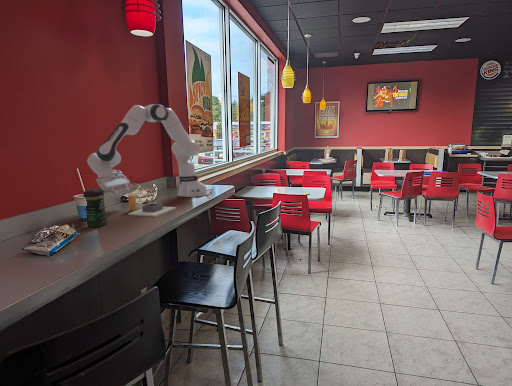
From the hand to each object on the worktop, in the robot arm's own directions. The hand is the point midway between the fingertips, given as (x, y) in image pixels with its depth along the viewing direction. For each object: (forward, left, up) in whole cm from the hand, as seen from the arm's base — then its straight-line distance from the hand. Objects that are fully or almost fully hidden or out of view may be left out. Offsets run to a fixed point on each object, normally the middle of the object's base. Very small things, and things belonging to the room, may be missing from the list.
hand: (123, 192), depth 198 cm
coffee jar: (+12, +31, -11) cm, 35 cm away
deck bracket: (-15, +13, -10) cm, 23 cm away
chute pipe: (-5, +4, -10) cm, 12 cm away
